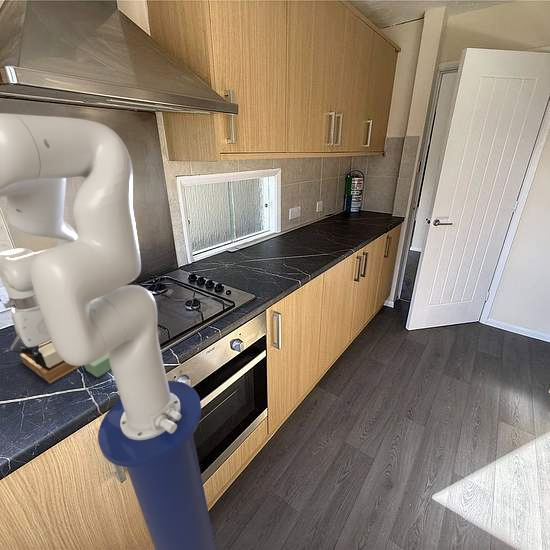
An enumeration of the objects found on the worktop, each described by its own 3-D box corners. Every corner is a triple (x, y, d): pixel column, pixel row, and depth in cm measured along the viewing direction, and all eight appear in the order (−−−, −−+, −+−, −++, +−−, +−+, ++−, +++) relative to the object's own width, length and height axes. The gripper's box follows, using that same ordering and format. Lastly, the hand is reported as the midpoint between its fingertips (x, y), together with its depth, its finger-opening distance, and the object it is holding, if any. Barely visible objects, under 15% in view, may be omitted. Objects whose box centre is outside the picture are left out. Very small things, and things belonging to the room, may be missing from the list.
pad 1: (71, 356, 80) (67, 345, 79) (49, 368, 76) (44, 357, 75) (61, 350, 83) (57, 339, 82) (39, 361, 79) (34, 350, 77)
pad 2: (117, 365, 81) (114, 354, 80) (97, 377, 77) (93, 366, 76) (105, 358, 84) (102, 348, 83) (86, 370, 80) (82, 359, 78)
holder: (83, 364, 82) (80, 355, 81) (50, 383, 76) (46, 374, 74) (55, 347, 90) (52, 338, 89) (23, 363, 83) (19, 354, 82)
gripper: (-7, 318, 64) (23, 382, 71) (76, 288, 77) (94, 345, 84) (-19, 310, 67) (11, 372, 75) (61, 282, 81) (80, 337, 88)
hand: (55, 357), depth 79 cm, fingers closed on pad 1, 5 cm apart
